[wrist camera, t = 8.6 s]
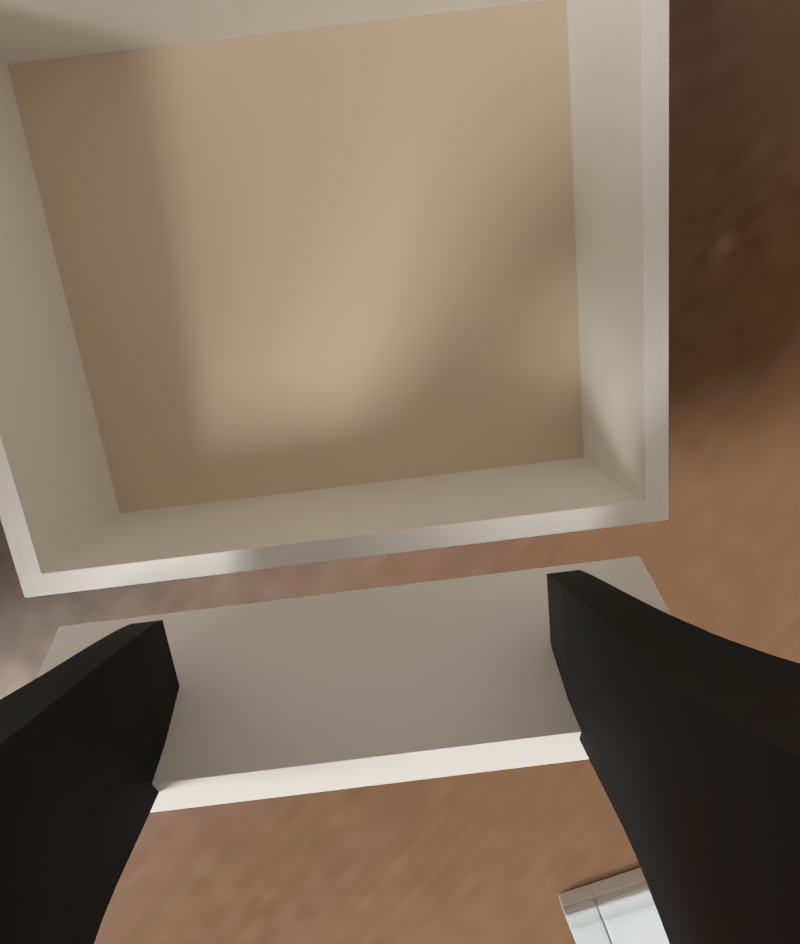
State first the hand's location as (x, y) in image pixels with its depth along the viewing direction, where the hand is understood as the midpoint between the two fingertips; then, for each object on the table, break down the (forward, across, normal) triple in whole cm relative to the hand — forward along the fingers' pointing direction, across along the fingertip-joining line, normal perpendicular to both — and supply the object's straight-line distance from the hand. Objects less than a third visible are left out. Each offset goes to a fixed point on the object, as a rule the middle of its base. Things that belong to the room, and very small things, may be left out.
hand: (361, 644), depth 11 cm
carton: (+7, 0, -7) cm, 10 cm away
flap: (0, 0, 0) cm, 1 cm away
